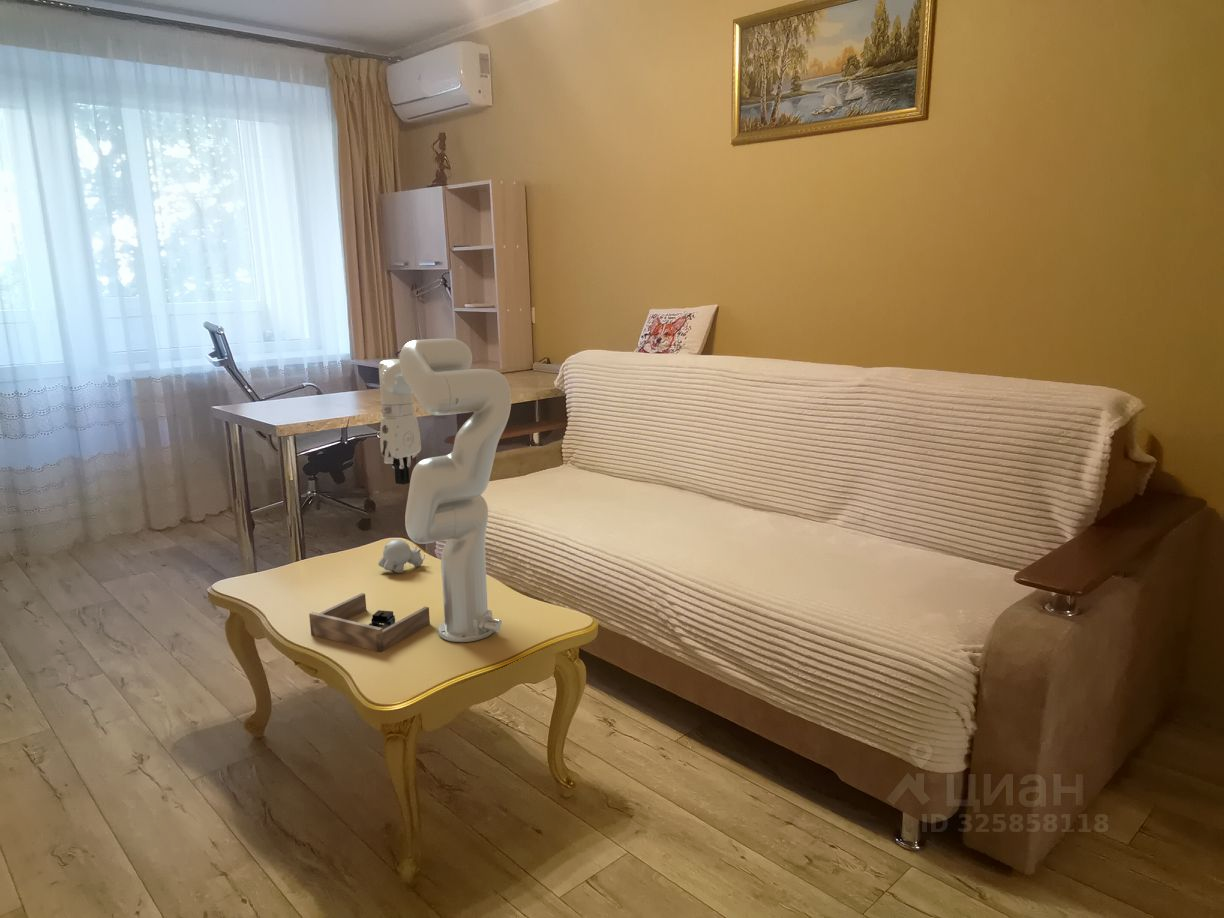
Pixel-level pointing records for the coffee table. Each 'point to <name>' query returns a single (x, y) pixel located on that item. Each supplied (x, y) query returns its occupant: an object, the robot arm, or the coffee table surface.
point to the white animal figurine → (399, 556)
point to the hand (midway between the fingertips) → (402, 483)
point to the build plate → (382, 619)
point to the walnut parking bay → (363, 625)
